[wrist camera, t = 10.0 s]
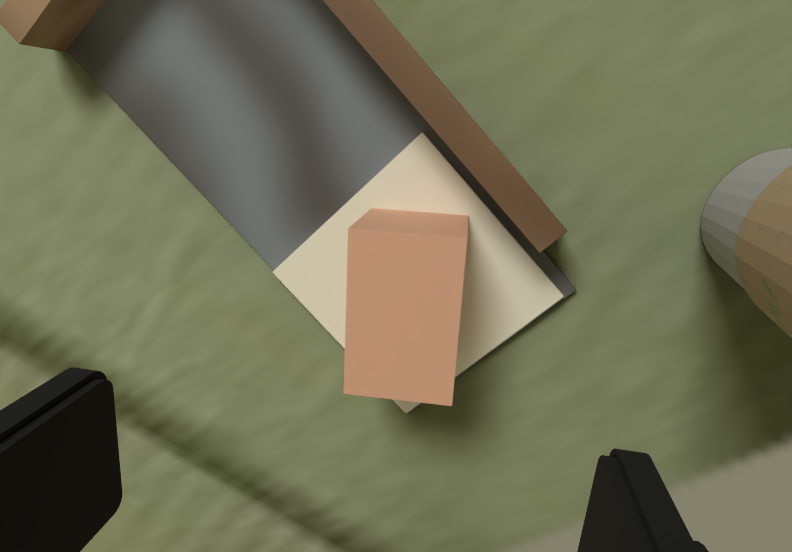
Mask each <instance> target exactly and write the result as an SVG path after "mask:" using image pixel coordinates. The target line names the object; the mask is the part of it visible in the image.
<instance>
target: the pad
mask: <svg viewBox="0 0 792 552" xmlns="http://www.w3.org/2000/svg"><path fill="white" fill-rule="evenodd" d="M371 208H377V209H391V210H404V211H418V212H432V213H445V214H459V215H468V237H467V248H466V259H465V270H464V281H463V292H462V303H461V314H460V325H459V336H458V347H457V357H456V368H455V377H456V376H457V375H459V374H460V373H461V372H463V371H464V370H466V369H467V368H468V367H470V366H471V365H472V364H474V363H475V362H476V361H478V360H479V359H480V358H482V357H483V356H484V355H486V354H487V353H488V352H490V351H491V350H493V349H494V348H495V347H497V346H498V345H499V344H501V343H502V342H503V341H505V340H506V339H507V338H509V337H510V336H511V335H513V334H514V333H515V332H517V331H518V330H520V329H521V328H522V327H524V326H525V325H526V324H528V323H529V322H530V321H532V320H533V319H534V318H536V317H537V316H538V315H540V314H541V313H542V312H544V311H545V310H547V309H548V308H549V307H551V306H552V305H553V304H555V303H556V302H557V301H559V300H560V299H561V298H563V297H564V296H563V294H562V293H561V292H560V291H559V289H558V288H557V287H556V286H555V285H554V284H553V282H552V281H551V280H550V279H549V278H548V277H547V275H546V274H545V273H544V272H543V271H542V270H541V269H540V267H539V266H538V265H537V264H536V263H535V262H534V260H533V259H532V258H531V257H530V256H529V255H528V253H527V252H526V251H525V250H524V249H523V248H522V246H521V245H520V244H519V243H518V242H517V241H516V240H515V238H514V237H513V236H512V235H511V234H510V233H509V231H508V230H507V229H506V228H505V227H504V226H503V224H502V223H501V222H500V221H499V220H498V219H497V218H496V216H495V215H494V214H493V213H492V212H491V211H490V209H489V208H488V207H487V206H486V205H485V204H484V202H483V201H482V200H481V199H480V198H479V197H478V195H477V194H476V193H475V192H474V191H473V190H472V189H471V187H470V186H469V185H468V184H467V183H466V182H465V180H464V179H463V178H462V177H461V176H460V175H459V173H458V172H457V171H456V170H455V169H454V168H453V166H452V165H451V164H450V163H449V162H448V161H447V160H446V158H445V157H444V156H443V155H442V154H441V153H440V151H439V150H438V149H437V148H436V147H435V146H434V144H433V143H432V142H431V141H430V140H429V139H428V138H427V136H426V135H425V134H424V133H423V132H422V133H421V134H420V135H419V136H418V137H417V138H415V139H414V140H413V141H412V142H411V143H410V144H409V145H408V146H407V147H406V148H405V149H404V150H403V151H402V152H400V153H399V154H398V155H397V156H396V157H395V158H394V159H393V160H392V161H391V162H390V163H389V164H388V165H387V166H385V167H384V168H383V169H382V170H381V171H380V172H379V173H378V174H377V175H376V176H375V177H374V178H373V179H371V180H370V181H369V182H368V183H367V184H366V185H365V186H364V187H363V188H362V189H361V190H360V191H359V192H358V193H356V194H355V195H354V196H353V197H352V198H351V199H350V200H349V201H348V202H347V203H346V204H345V205H344V206H343V207H341V208H340V209H339V210H338V211H337V212H336V213H335V214H334V215H333V216H332V217H331V218H330V219H329V220H327V221H326V222H325V223H324V224H323V225H322V226H321V227H320V228H319V229H318V230H317V231H316V232H315V233H314V234H312V235H311V236H310V237H309V238H308V239H307V240H306V241H305V242H304V243H303V244H302V245H301V246H300V247H299V248H297V249H296V250H295V251H294V252H293V253H292V254H291V255H290V256H289V257H288V258H287V259H286V260H285V261H284V262H282V263H281V264H280V265H279V266H278V267H277V268H276V269H275V270H274V271H273V273H274V274H275V276H276V277H277V278H278V279H279V280H280V281H281V282H282V283H283V284H284V285H285V286H286V287H287V288H288V289H289V290H290V291H291V292H292V294H293V295H294V296H295V297H296V298H297V299H298V300H299V301H300V302H301V303H302V304H303V305H304V306H305V307H306V308H307V309H308V310H309V312H310V313H311V314H312V315H313V316H314V317H315V318H316V319H317V320H318V321H319V322H320V323H321V324H322V325H323V326H324V327H325V328H326V330H327V331H328V332H329V333H330V334H331V335H332V336H333V337H334V338H335V339H336V340H337V341H338V342H339V343H340V344H341V345H342V346H343V348H344V349H345V328H346V290H347V252H348V228H349V227H350V226H352V225H353V224H354V223H355V222H356V221H357V220H358V219H360V218H361V217H362V216H363V215H364V214H365V213H366V212H368V211H369V210H370V209H371ZM393 400H394V399H393ZM394 402H395V403H396V404H397V405H398V406H399V407H400V408H401V409H402V410H403V411H404V412H405V413H408V412H409V411H410V410H412V409H413V408H414V407H416V406H417V405H418V404H420V402H411V401H403V400H394Z"/></svg>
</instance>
